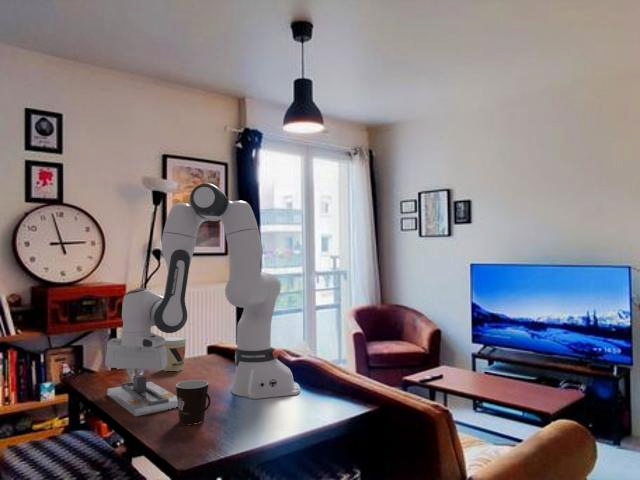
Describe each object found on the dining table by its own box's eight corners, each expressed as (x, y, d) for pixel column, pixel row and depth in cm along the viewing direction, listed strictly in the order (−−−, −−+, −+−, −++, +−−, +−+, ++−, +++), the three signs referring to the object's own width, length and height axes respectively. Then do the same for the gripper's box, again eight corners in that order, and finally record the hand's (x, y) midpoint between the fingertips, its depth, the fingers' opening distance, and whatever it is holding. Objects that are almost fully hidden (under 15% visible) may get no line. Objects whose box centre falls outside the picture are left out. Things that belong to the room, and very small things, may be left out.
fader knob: (133, 389, 154) (133, 375, 155) (142, 388, 156) (142, 374, 156) (137, 392, 152) (137, 377, 152) (146, 390, 153) (146, 376, 154)
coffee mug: (173, 418, 135) (173, 381, 135) (205, 414, 139) (205, 378, 139) (179, 432, 125) (179, 393, 125) (213, 427, 128) (213, 389, 128)
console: (107, 394, 157) (107, 385, 157) (150, 387, 165) (150, 378, 166) (135, 416, 136) (135, 405, 137) (183, 406, 145) (183, 396, 145)
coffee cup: (171, 373, 184) (172, 341, 184) (155, 370, 189) (155, 339, 190) (190, 368, 192) (191, 338, 192) (174, 365, 197) (175, 335, 197)
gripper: (101, 339, 156) (100, 383, 156) (159, 342, 152) (159, 387, 152) (113, 336, 163) (112, 378, 162) (169, 338, 159) (169, 381, 158)
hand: (135, 382), depth 157 cm, fingers closed
